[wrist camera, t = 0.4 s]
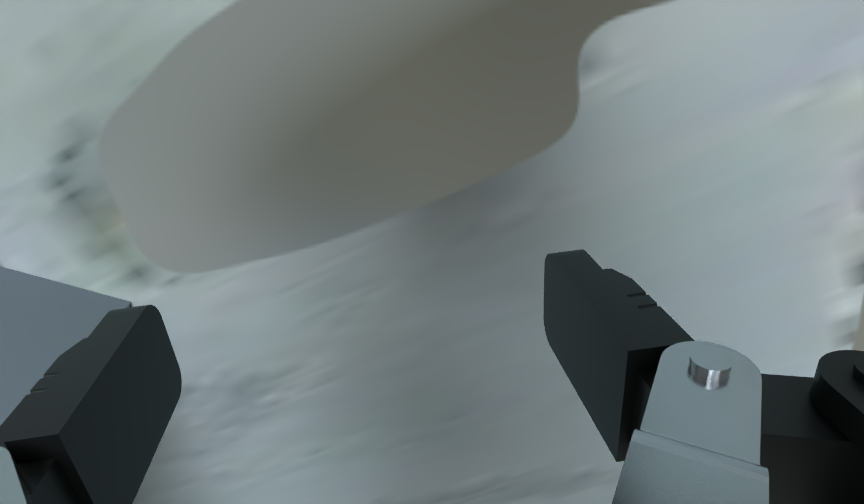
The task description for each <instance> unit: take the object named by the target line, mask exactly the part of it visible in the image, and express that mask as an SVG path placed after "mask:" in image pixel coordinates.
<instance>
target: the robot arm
mask: <svg viewBox="0 0 864 504" xmlns="http://www.w3.org/2000/svg"><path fill="white" fill-rule="evenodd" d="M544 326H545V332H546V336H547V339H548V342H549V344H550V346H551V348H552V350H553V352H554V353H555V355H556V357H557V359H558V360H559V362H560V364H561V366H562V367H563V369H564V371H565V373H566V374H567V376H568V378H569V380H570V381H571V383H572V385H573V387H574V388H575V390H576V392H577V394H578V395H579V397H580V399H581V401H582V402H583V404H584V406H585V408H586V409H587V411H588V413H589V415H590V416H591V418H592V420H593V422H594V423H595V425H596V427H597V429H598V430H599V432H600V434H601V436H602V437H603V439H604V441H605V443H606V444H607V446H608V448H609V450H610V451H611V453H612V455H613V457H614V458H615V460H616V462H619V461H624V465H623V468H622V471H621V475H620V478H619V481H618V485H617V488H616V491H615V495H614V498H613V501H612V504H864V351H857V350H840V351H834V352H830V353H827V354H826V355H824V356H822V357H821V359H820V360H819V363H818V366H817V369H816V373H815V376H814V378H811V377H797V376H783V375H768V374H761V373H760V371H759V369H758V368H757V367H756V365H755V364H754V363H753V362H752V361H751V360H750V359H748V358H747V357H745V356H744V355H742V354H741V353H739V352H737V351H735V350H733V349H731V348H728V347H725V346H722V345H719V344H715V343H709V342H702V341H694V340H693V339H692V338H691V337H690V336H689V335H688V334H687V333H686V332H685V331H684V330H683V329H682V328H681V327H680V326H679V325H678V324H677V323H676V322H675V321H674V320H673V319H672V318H671V317H670V316H669V315H668V314H667V313H666V312H665V311H664V310H663V309H662V308H661V307H660V306H658V307H657V303H656V302H655V301H654V300H653V299H652V298H651V297H650V296H649V295H646V292H645V291H644V290H643V289H642V288H641V287H640V286H639V285H638V284H637V283H636V282H635V281H634V280H633V279H631V278H629V277H627V276H625V275H623V274H621V273H619V272H617V271H615V270H613V269H604V270H603V269H602V268H601V267H600V266H599V265H598V264H597V263H596V262H595V261H594V260H593V259H592V258H591V257H590V255H589V254H588V253H587V252H586V251H585V250H574V251H566V252H559V253H551V254H548V255H547V256H546V259H545V271H544ZM180 394H181V372H180V368H179V365H178V362H177V359H176V356H175V353H174V351H173V348H172V345H171V342H170V339H169V336H168V334H167V331H166V328H165V325H164V322H163V320H162V317H161V314H160V312H159V310H158V309H157V308H156V307H155V306H153V305H146V306H138V307H130V308H123V309H115V310H111V311H109V312H108V313H107V314H106V315H105V316H104V318H103V319H102V320H101V321H100V323H99V324H98V325H97V326H96V328H95V329H94V330H93V331H92V333H91V334H90V335H89V336H88V338H84V339H82V340H81V341H79V342H78V343H77V344H75V345H74V346H72V347H71V348H70V349H68V350H67V351H65V352H64V353H63V354H61V355H60V356H59V357H58V358H57V359H56V360H55V361H54V363H53V364H52V365H51V366H50V367H49V369H48V370H47V371H46V372H45V373H44V378H40V379H39V380H38V382H37V383H36V384H35V385H34V386H33V388H32V389H31V390H30V394H28V395H26V396H25V397H24V398H23V399H22V401H21V402H20V403H19V404H18V405H17V407H16V408H15V409H14V410H13V411H12V413H11V414H10V415H9V416H8V417H7V418H6V420H5V421H4V422H3V423H2V424H1V426H0V504H132V503H133V501H134V499H135V496H136V494H137V492H138V490H139V487H140V485H141V483H142V481H143V478H144V476H145V474H146V472H147V470H148V467H149V465H150V463H151V461H152V458H153V456H154V454H155V452H156V449H157V447H158V445H159V443H160V440H161V438H162V436H163V434H164V431H165V429H166V427H167V425H168V422H169V420H170V418H171V416H172V414H173V411H174V409H175V407H176V405H177V402H178V400H179V397H180Z"/></svg>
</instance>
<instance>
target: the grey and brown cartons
mask: <svg viewBox="0 0 864 504" xmlns="http://www.w3.org/2000/svg"><path fill="white" fill-rule="evenodd" d="M130 305H131V302H129V301H125V300H121V299H118V298H114V297H110V296H107V295H103V294H99V293H95V292H92V291H88V290H84V289H81V288H77V287H73V286H70V285H66V284H62V283H59V282H55V281H51V280H47V279H44V278H40V277H36V276H33V275H29V274H25V273H22V272H18V271H14V270H11V269H7V268H3V267H0V426H1V424H2V423H3V422H4V421H5V420H6V418H7V417H8V416H9V415H10V414H11V413H12V411H13V410H14V409H15V408H16V407H17V405H18V404H19V403H20V402H21V401H22V399H23V398H24V397H25V396H26V395H28V394H30V390H31V389H32V388H33V386H34V385H35V384H36V383H37V382H38V380H39V379H40V378H44V373H45V372H46V371H47V370H48V369H49V367H50V366H51V365H52V364H53V363H54V361H55V360H56V359H57V358H58V357H59V356H60V355H61V354H63V353H64V352H65V351H67V350H68V349H70V348H71V347H72V346H74V345H75V344H77V343H78V342H79V341H81V340H82V339H84V338H88V336H89V335H90V334H91V333H92V331H93V330H94V329H95V328H96V326H97V325H98V324H99V323H100V321H101V320H102V319H103V318H104V316H105V315H106V314H107V313H108V312H109V311H111V310H115V309H123V308H130Z"/></svg>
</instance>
